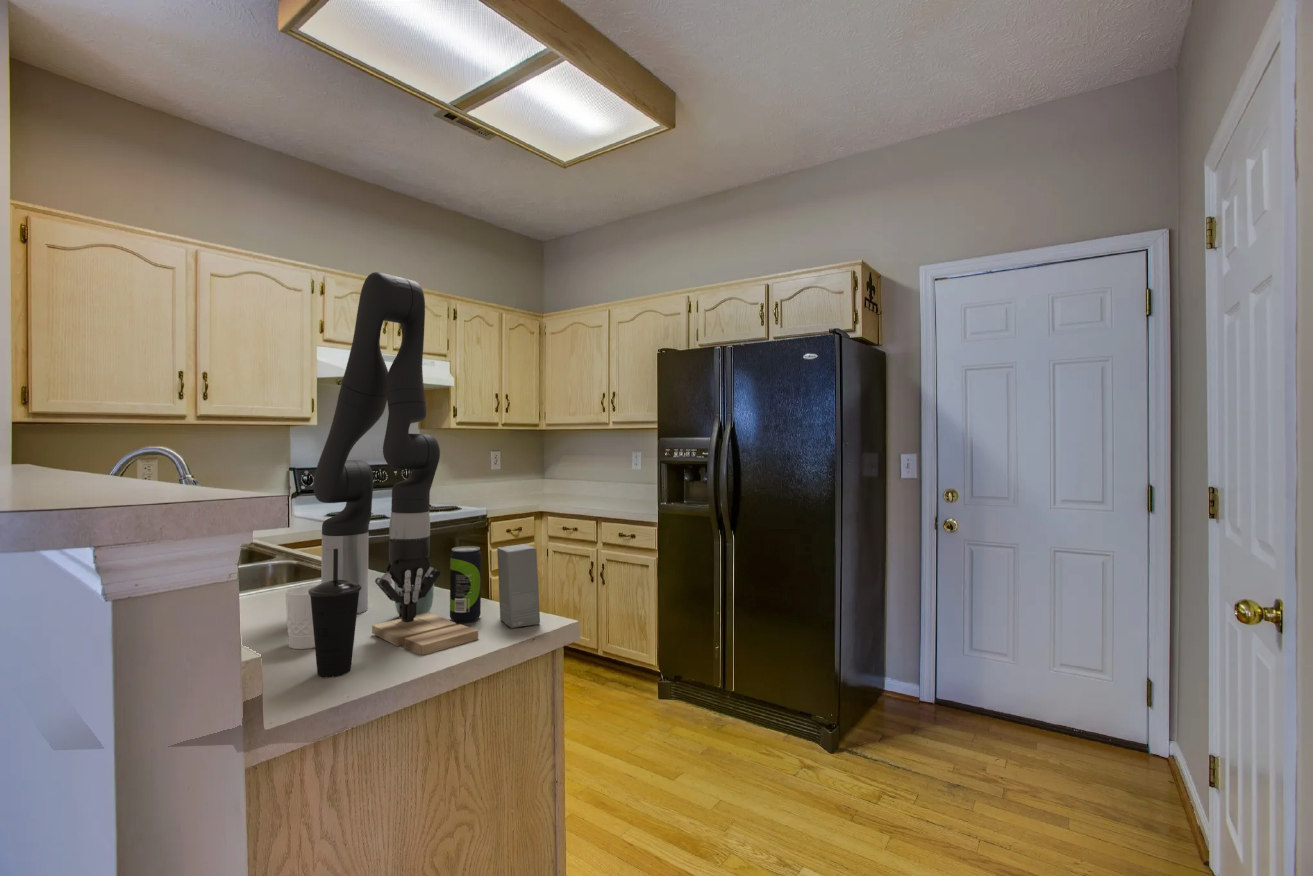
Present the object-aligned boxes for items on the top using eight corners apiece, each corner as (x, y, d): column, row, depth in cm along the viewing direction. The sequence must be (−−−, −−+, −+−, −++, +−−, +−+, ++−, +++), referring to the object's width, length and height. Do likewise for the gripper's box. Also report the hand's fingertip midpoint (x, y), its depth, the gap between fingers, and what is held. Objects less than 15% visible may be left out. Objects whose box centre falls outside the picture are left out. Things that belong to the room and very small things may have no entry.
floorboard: (401, 646, 113) (401, 636, 113) (457, 631, 121) (457, 623, 121) (422, 655, 108) (422, 645, 108) (478, 639, 117) (478, 630, 117)
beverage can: (486, 619, 130) (487, 548, 131) (459, 625, 126) (460, 552, 126) (470, 613, 135) (470, 544, 135) (444, 619, 130) (444, 548, 130)
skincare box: (540, 625, 126) (541, 548, 127) (506, 630, 123) (507, 550, 123) (528, 614, 134) (528, 542, 134) (495, 619, 130) (496, 544, 131)
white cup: (326, 634, 119) (326, 582, 119) (339, 643, 114) (340, 589, 114) (279, 643, 114) (280, 589, 114) (291, 653, 108) (292, 597, 108)
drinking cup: (320, 664, 103) (322, 545, 103) (367, 663, 104) (369, 544, 104) (297, 681, 96) (299, 553, 96) (348, 680, 96) (350, 553, 97)
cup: (419, 622, 127) (420, 574, 127) (386, 620, 129) (387, 572, 129) (440, 612, 135) (440, 567, 135) (408, 610, 137) (409, 565, 137)
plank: (371, 633, 119) (372, 624, 119) (429, 619, 128) (429, 611, 128) (397, 646, 112) (398, 637, 112) (456, 631, 122) (456, 622, 122)
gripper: (430, 528, 129) (428, 610, 130) (367, 535, 119) (365, 624, 119) (450, 533, 125) (447, 618, 125) (386, 540, 114) (384, 633, 115)
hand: (407, 621), depth 122 cm, fingers closed
